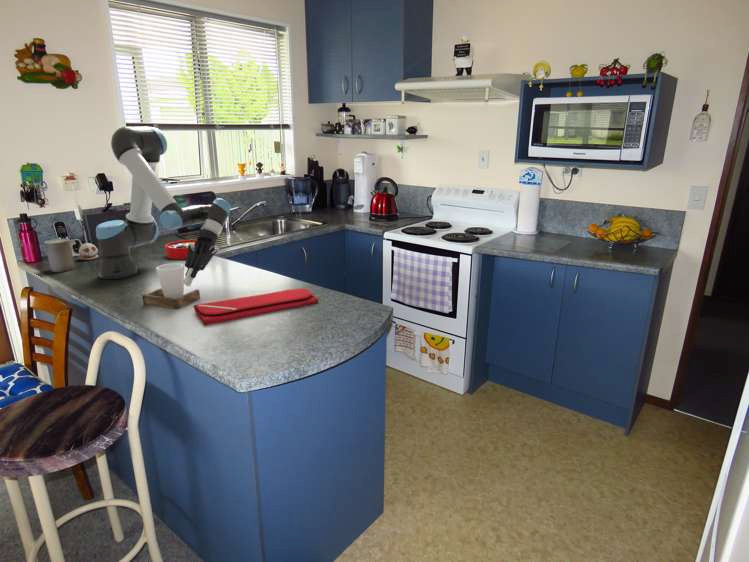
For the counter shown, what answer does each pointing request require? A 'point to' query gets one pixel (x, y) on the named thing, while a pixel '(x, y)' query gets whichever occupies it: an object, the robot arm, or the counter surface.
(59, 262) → the grey tapered container
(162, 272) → the foam cup
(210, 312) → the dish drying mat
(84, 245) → the decorative ornament
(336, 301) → the counter surface
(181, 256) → the red round bowl
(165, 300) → the brown bent bar
